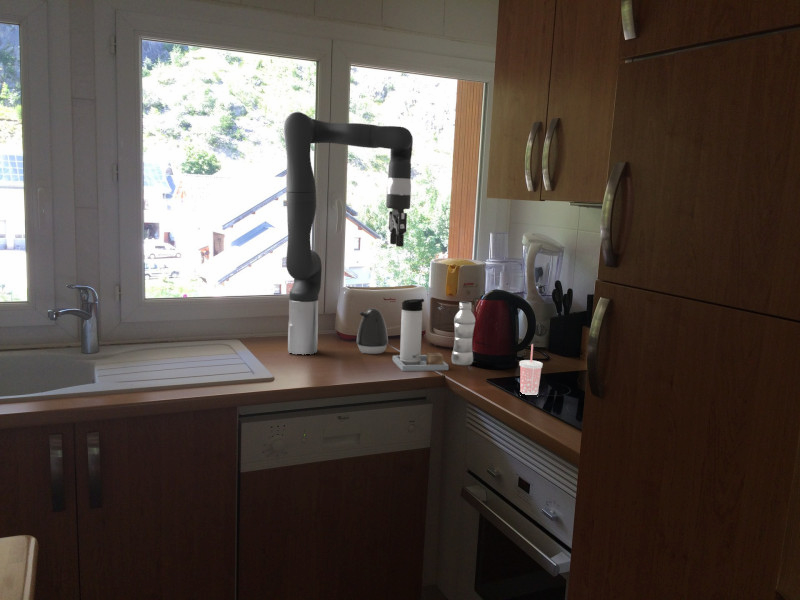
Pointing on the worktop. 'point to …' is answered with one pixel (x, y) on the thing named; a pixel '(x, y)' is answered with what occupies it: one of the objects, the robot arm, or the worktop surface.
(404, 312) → the travel mug
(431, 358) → the walnut block
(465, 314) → the plastic bottle
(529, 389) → the beverage cup
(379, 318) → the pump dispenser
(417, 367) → the tray
